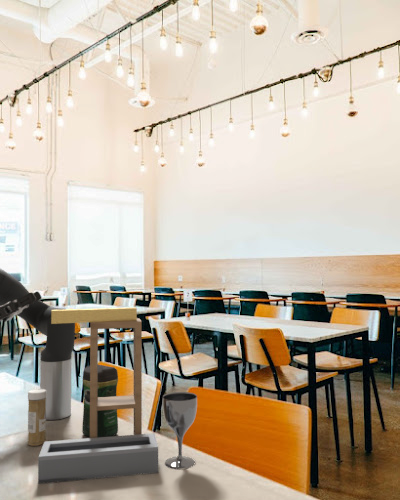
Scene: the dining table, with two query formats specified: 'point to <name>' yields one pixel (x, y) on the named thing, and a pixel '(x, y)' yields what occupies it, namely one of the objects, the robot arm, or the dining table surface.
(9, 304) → the robot arm
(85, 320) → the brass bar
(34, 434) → the sprinkles bottle
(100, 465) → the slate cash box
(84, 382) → the coffee jar
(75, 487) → the dining table surface
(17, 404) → the dining table surface
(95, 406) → the walnut stand
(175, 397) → the wine glass
